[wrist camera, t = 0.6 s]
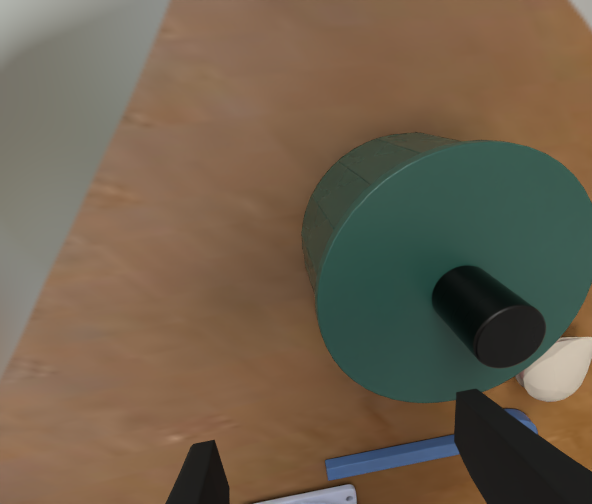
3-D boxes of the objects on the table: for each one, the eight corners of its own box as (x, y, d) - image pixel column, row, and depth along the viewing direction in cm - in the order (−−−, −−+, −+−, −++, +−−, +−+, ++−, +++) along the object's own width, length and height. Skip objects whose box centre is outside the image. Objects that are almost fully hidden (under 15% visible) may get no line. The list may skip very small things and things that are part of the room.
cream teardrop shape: (494, 358, 23) (521, 386, 21) (561, 306, 22) (597, 330, 20) (526, 391, 25) (555, 421, 22) (591, 344, 24) (628, 371, 21)
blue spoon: (524, 445, 27) (534, 458, 26) (328, 485, 26) (331, 499, 25) (531, 403, 25) (542, 414, 24) (322, 444, 24) (325, 457, 23)
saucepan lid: (553, 360, 16) (636, 433, 13) (326, 404, 16) (347, 492, 12) (598, 116, 12) (739, 124, 9) (294, 163, 12) (314, 191, 8)
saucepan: (479, 297, 21) (558, 365, 16) (312, 327, 21) (335, 408, 15) (493, 119, 17) (604, 128, 12) (289, 150, 17) (307, 174, 11)
